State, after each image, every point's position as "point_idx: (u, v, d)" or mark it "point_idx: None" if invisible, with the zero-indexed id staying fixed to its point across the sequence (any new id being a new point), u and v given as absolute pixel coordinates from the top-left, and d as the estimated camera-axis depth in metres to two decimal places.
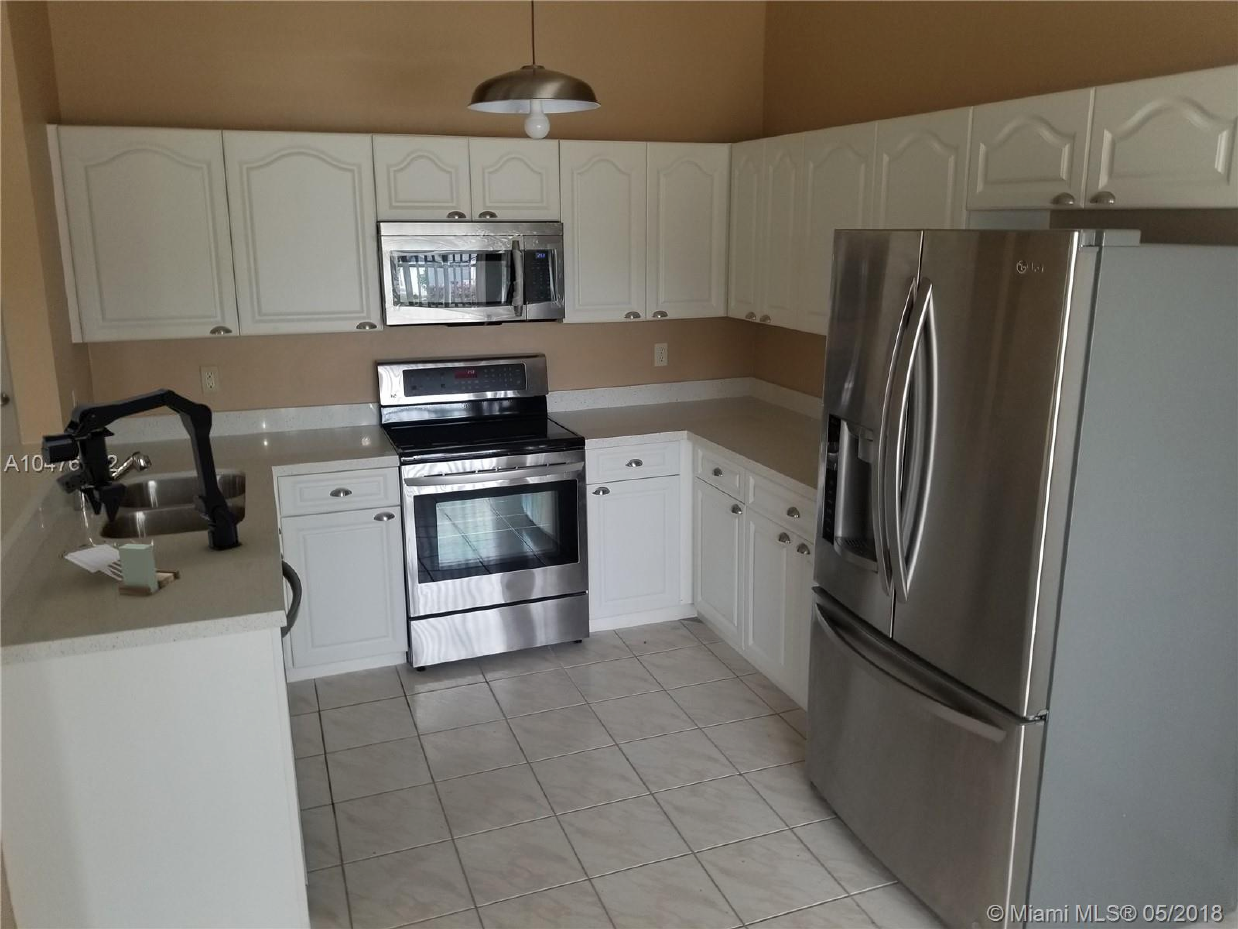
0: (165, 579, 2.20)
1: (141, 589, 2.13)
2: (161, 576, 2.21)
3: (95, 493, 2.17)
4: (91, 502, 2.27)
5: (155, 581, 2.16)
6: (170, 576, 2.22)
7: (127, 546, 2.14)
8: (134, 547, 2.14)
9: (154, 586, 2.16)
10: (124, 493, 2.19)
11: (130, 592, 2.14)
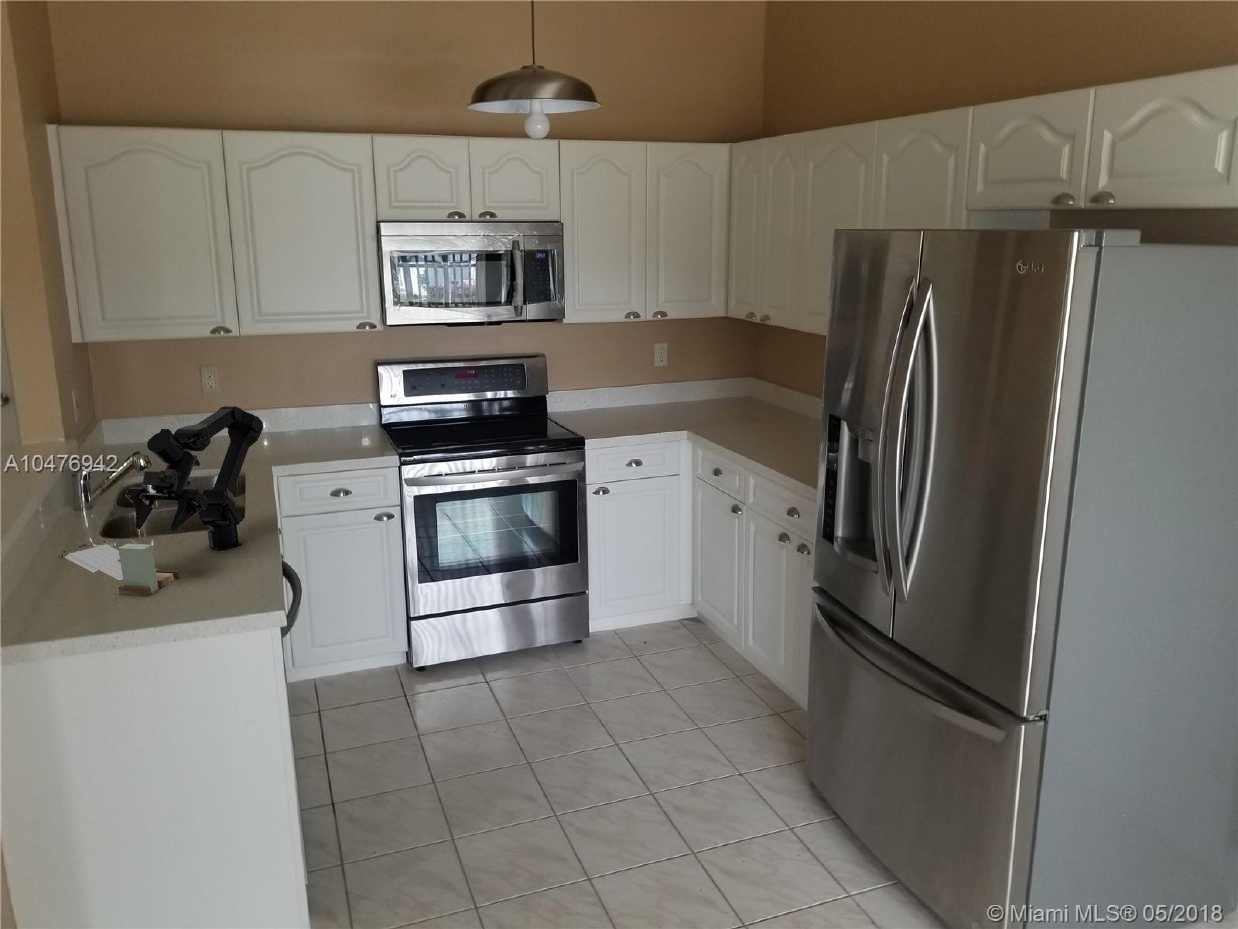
0: (165, 579, 2.20)
1: (141, 589, 2.13)
2: (161, 576, 2.21)
3: (185, 493, 2.21)
4: (140, 514, 2.22)
5: (155, 581, 2.16)
6: (170, 576, 2.22)
7: (127, 546, 2.14)
8: (134, 547, 2.14)
9: (154, 586, 2.16)
10: (205, 507, 2.25)
11: (130, 592, 2.14)
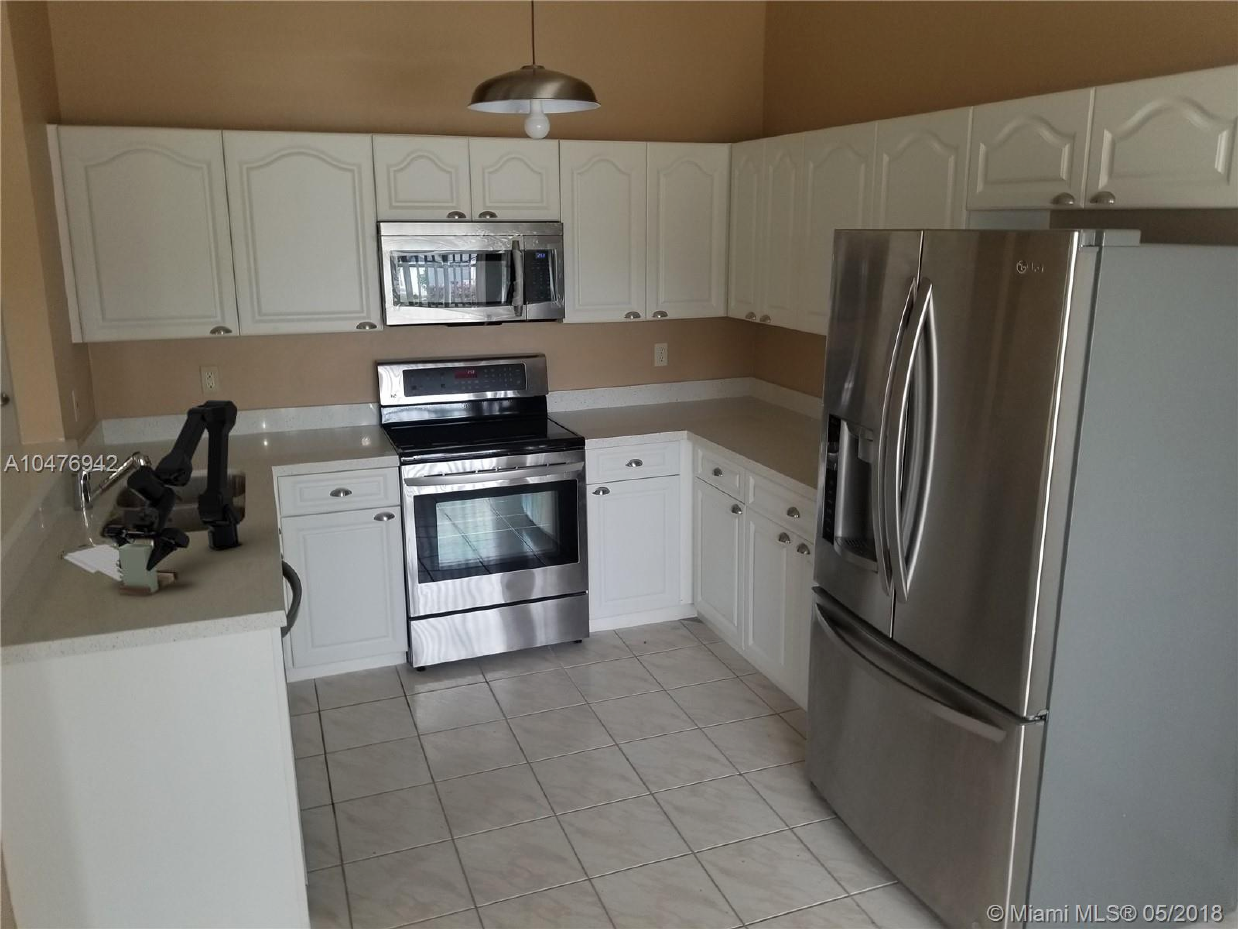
0: (165, 579, 2.20)
1: (141, 589, 2.13)
2: (161, 576, 2.21)
3: (165, 532, 2.14)
4: None
5: (155, 581, 2.16)
6: (170, 576, 2.22)
7: (127, 546, 2.14)
8: (134, 547, 2.14)
9: (154, 586, 2.16)
10: (187, 545, 2.18)
11: (130, 592, 2.14)
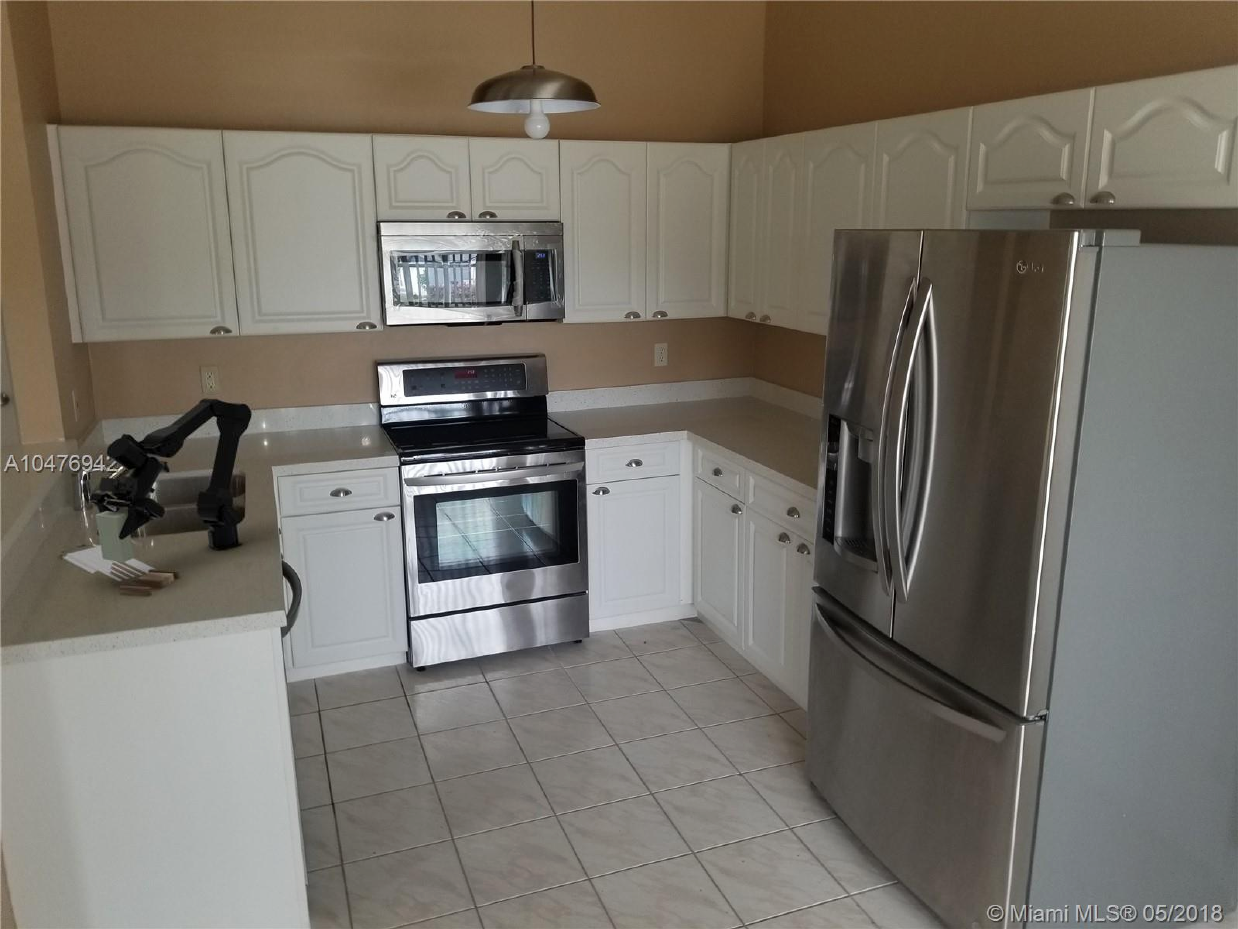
0: (165, 579, 2.20)
1: (141, 589, 2.13)
2: (161, 576, 2.21)
3: (138, 502, 2.14)
4: None
5: (130, 550, 2.17)
6: (170, 576, 2.22)
7: (105, 513, 2.16)
8: (110, 514, 2.15)
9: (128, 555, 2.17)
10: (161, 516, 2.17)
11: (130, 592, 2.14)
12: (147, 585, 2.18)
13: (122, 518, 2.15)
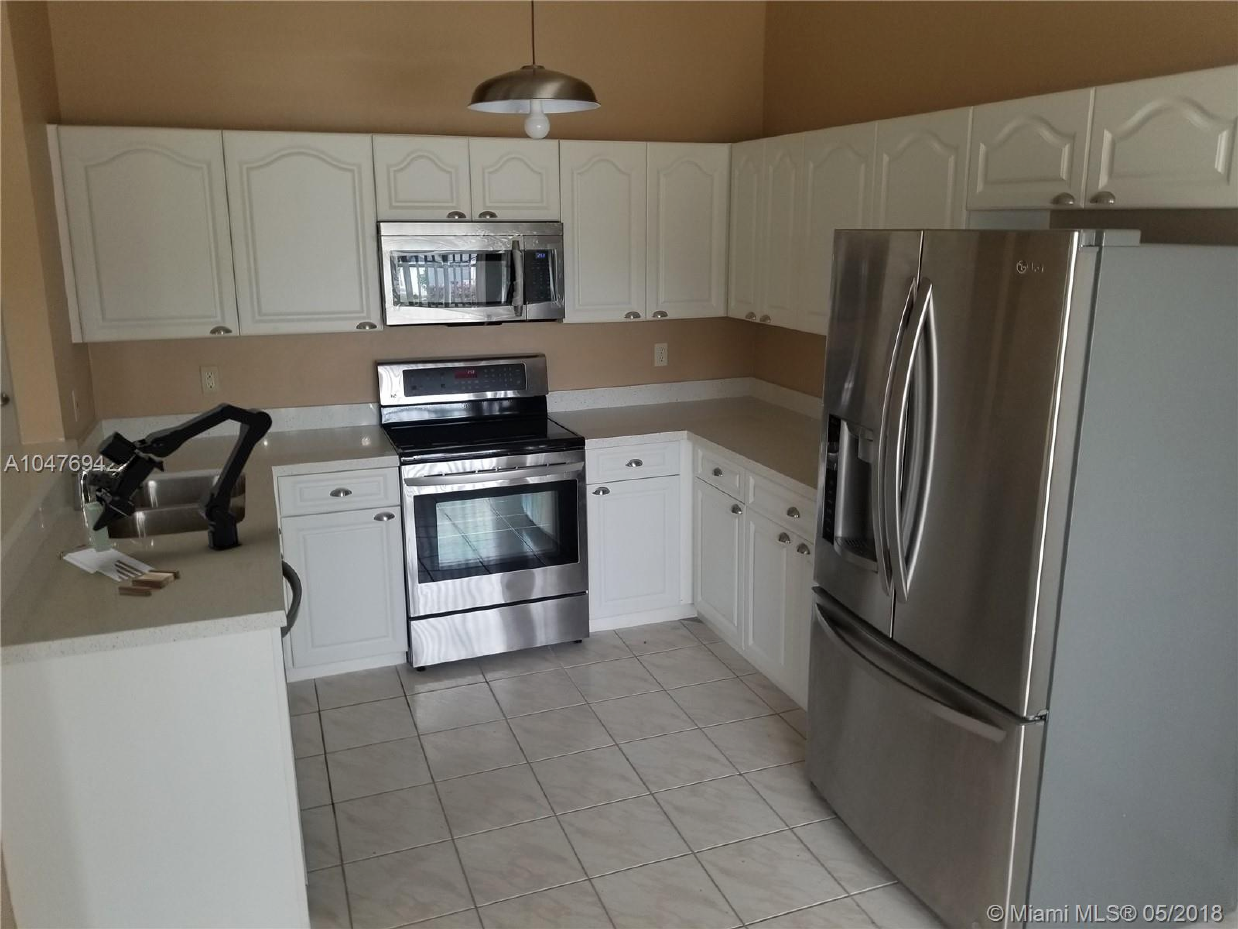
0: (165, 579, 2.20)
1: (141, 589, 2.13)
2: (161, 576, 2.21)
3: (108, 498, 2.23)
4: None
5: (106, 542, 2.27)
6: (170, 576, 2.22)
7: (92, 504, 2.28)
8: (92, 506, 2.27)
9: (104, 546, 2.27)
10: (129, 515, 2.24)
11: (130, 592, 2.14)
12: (147, 585, 2.18)
13: (97, 511, 2.25)
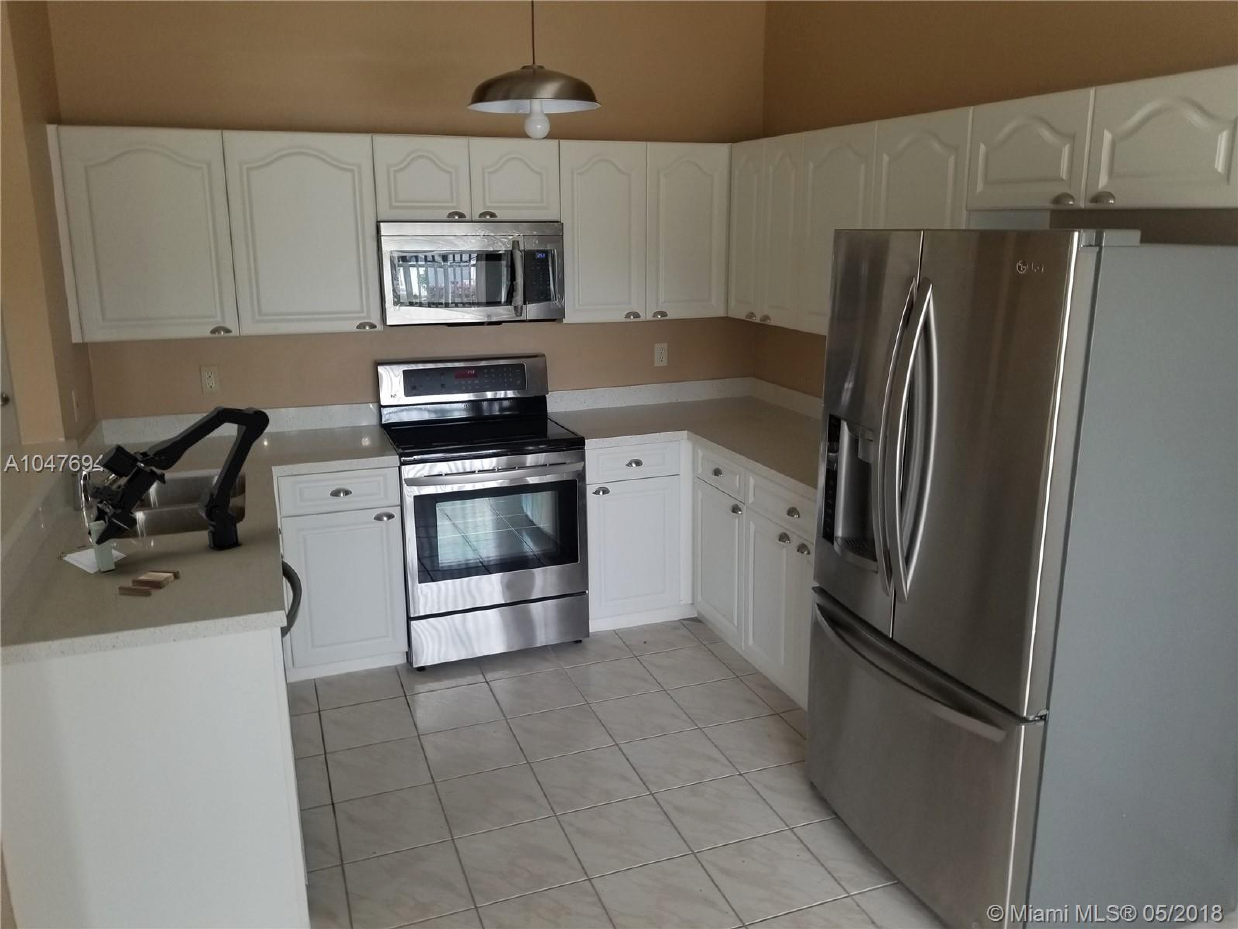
0: (165, 579, 2.20)
1: (141, 589, 2.13)
2: (161, 576, 2.21)
3: (110, 511, 2.24)
4: None
5: (110, 561, 2.29)
6: (170, 576, 2.22)
7: (97, 523, 2.30)
8: (97, 525, 2.28)
9: (108, 565, 2.29)
10: (130, 527, 2.25)
11: (130, 592, 2.14)
12: (147, 585, 2.18)
13: None
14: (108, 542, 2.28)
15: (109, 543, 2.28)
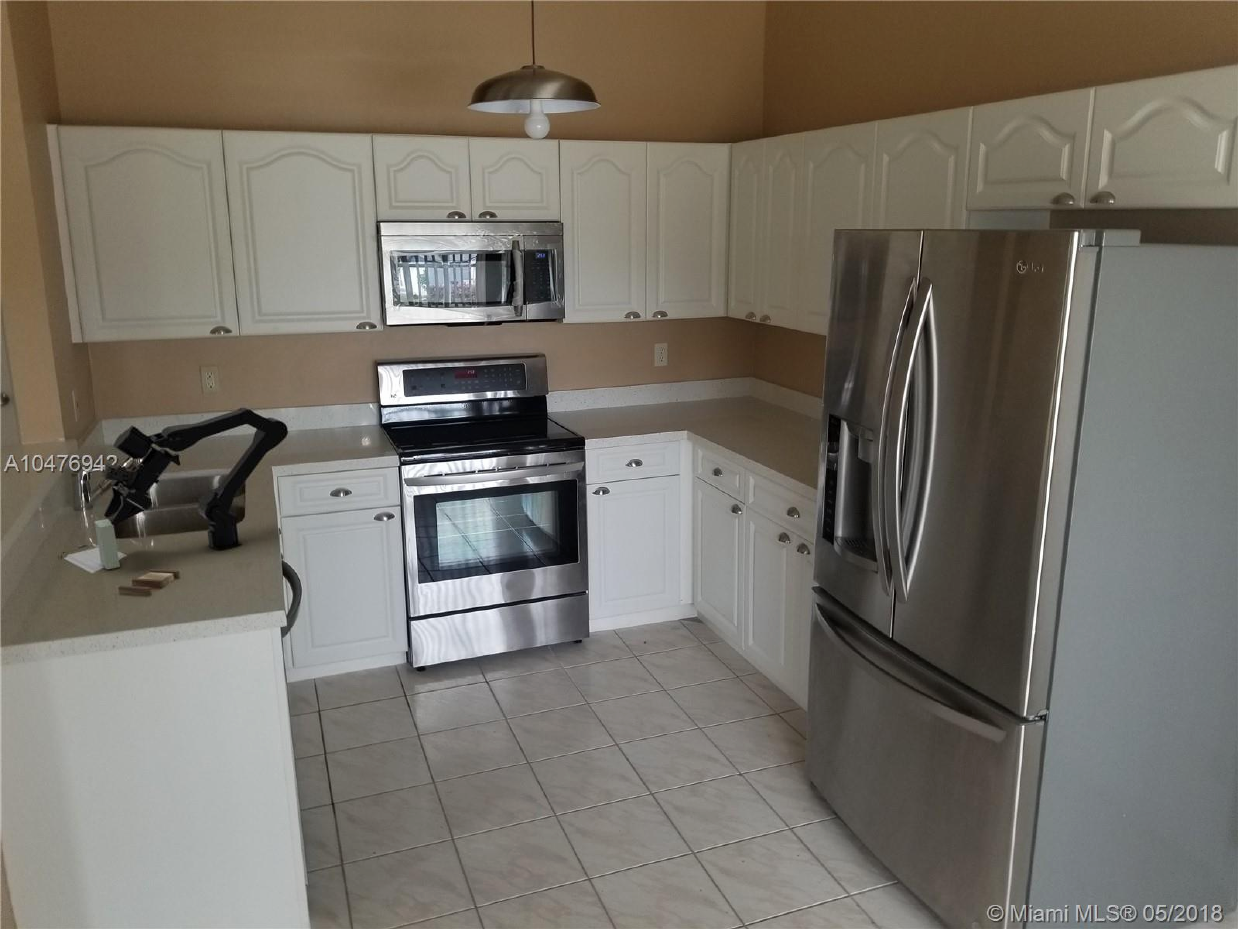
0: (165, 579, 2.20)
1: (141, 589, 2.13)
2: (161, 576, 2.21)
3: (125, 491, 2.25)
4: (111, 503, 2.34)
5: (115, 559, 2.30)
6: (170, 576, 2.22)
7: (102, 521, 2.31)
8: (102, 523, 2.30)
9: (113, 563, 2.30)
10: (145, 507, 2.26)
11: (130, 592, 2.14)
12: (147, 585, 2.18)
13: (107, 528, 2.28)
14: (113, 540, 2.29)
15: (114, 541, 2.29)
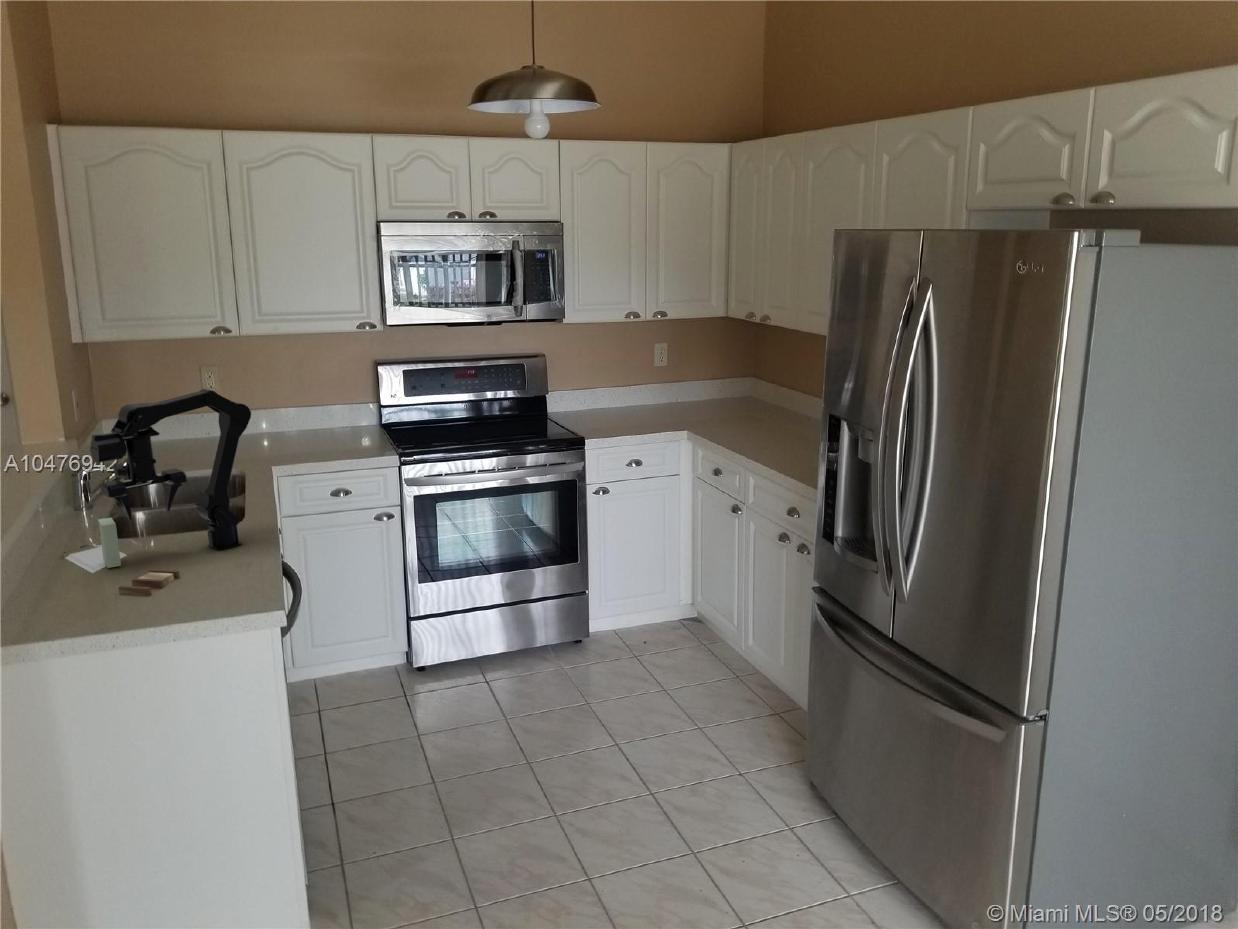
0: (165, 579, 2.20)
1: (141, 589, 2.13)
2: (161, 576, 2.21)
3: None
4: (164, 497, 2.36)
5: (117, 558, 2.31)
6: (170, 576, 2.22)
7: (105, 519, 2.33)
8: (105, 522, 2.31)
9: (114, 562, 2.31)
10: (108, 495, 2.23)
11: (130, 592, 2.14)
12: (147, 585, 2.18)
13: (110, 527, 2.29)
14: (115, 539, 2.30)
15: (116, 540, 2.30)
